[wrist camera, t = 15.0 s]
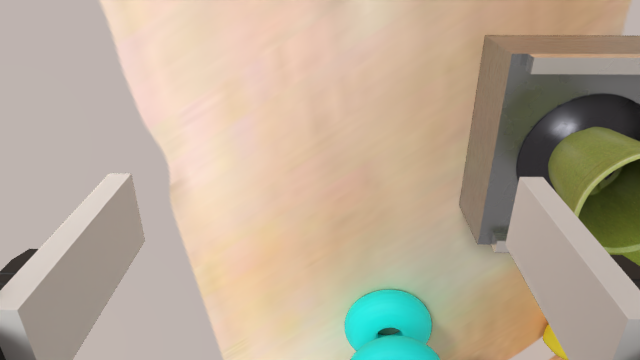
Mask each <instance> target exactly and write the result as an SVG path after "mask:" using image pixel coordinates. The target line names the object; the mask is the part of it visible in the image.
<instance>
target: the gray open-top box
mask: <svg viewBox="0 0 640 360" xmlns="http://www.w3.org/2000/svg"><path fill="white" fill-rule="evenodd" d="M591 127H603V128H608V129H611V130H613V131H615V132H618V133H620V134H623V135H625V136H627V137H630V138H632V139H635V140H637V141H639V142H640V36H507V35H485V39H484V46H483V52H482V59H481V65H480V72H479V78H478V85H477V92H476V98H475V105H474V111H473V118H472V124H471V131H470V138H469V144H468V151H467V157H466V164H465V170H464V177H463V184H462V190H461V197H460V203H459V205H460V208H461V210H462V212H463V214H464V216H465V218H466V221H467V223H468V225H469V227H470V229H471V231H472V234H473V236H474V238H475V240H476V242H477V244H491V246H492V248H493V250H494V251H495V252H504V253H509V251H508V249H507V247H506V245H505V243H506V239H507V234H508V229H509V225H510V220H511V215H512V211H513V206H514V201H515V197H516V192H517V187H518V182H519V178H520V177H543V178H544V179H545V180H546V181H547V182H548V184H549V185H550V186H551V187H552V188H553V189H554V191H555V192H556V190H555V188H554V186H553V184H552V182H551V180H550V177H549V171H548V162H549V159H550V156H551V154H552V152H553V150H554V149H555V147H556V146H557V145H558V144H559V143H560V142H561V141H562V140H563V139H564V138H565V137H567V136H568V135H570V134H572V133H575V132H578V131H582V130H585V129H588V128H591ZM614 171H615V170H614ZM614 171H613V172H614ZM613 172H612V173H610V174H609V175H607V176H606V177H605V178H604V179H605V180H606V179H607V178H609V177H610V176H611V175H612V174H613ZM556 193H557V192H556Z"/></svg>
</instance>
